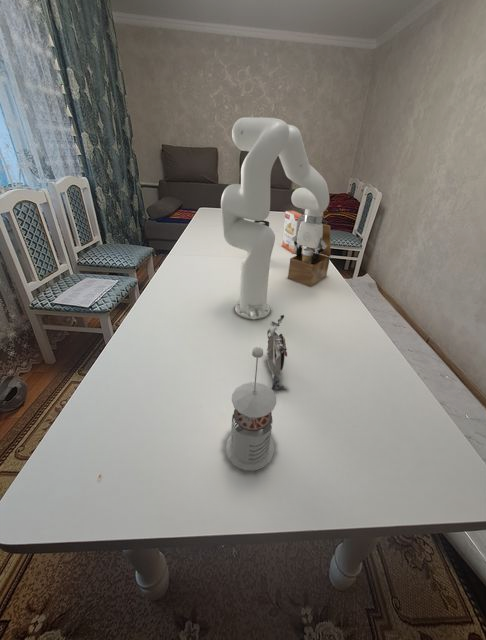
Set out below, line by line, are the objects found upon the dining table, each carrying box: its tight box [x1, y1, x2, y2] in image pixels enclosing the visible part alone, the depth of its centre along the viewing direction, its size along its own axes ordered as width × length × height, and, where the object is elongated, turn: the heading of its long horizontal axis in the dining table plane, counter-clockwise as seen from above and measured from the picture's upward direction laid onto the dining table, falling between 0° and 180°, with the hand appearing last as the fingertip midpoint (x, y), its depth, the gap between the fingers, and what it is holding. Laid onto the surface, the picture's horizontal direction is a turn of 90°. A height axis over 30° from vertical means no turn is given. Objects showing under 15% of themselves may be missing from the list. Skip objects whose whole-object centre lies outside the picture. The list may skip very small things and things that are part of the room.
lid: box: [306, 219, 332, 258], centre depth 133 cm, size 16×12×5 cm
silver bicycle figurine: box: [266, 314, 288, 391], centre depth 77 cm, size 15×4×13 cm, turn 6°
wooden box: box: [287, 252, 331, 287], centre depth 135 cm, size 16×12×10 cm
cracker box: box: [281, 210, 304, 254], centre depth 167 cm, size 14×6×21 cm, turn 25°
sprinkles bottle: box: [302, 248, 313, 264], centre depth 131 cm, size 5×5×13 cm
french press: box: [225, 347, 277, 471], centre depth 54 cm, size 10×12×25 cm
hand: (306, 259), depth 130 cm, fingers open, 8 cm apart
